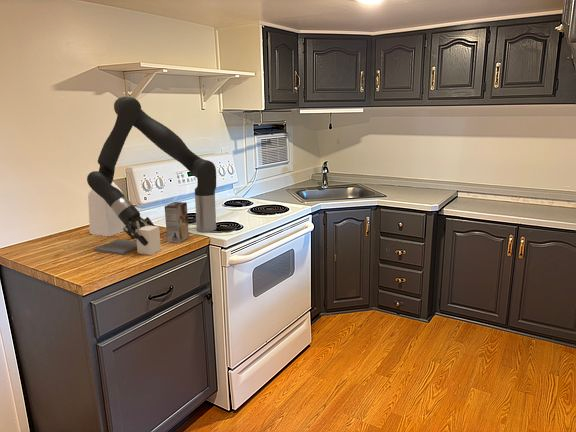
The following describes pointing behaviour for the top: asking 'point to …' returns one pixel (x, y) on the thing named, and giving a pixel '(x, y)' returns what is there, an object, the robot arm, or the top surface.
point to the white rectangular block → (149, 240)
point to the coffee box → (176, 222)
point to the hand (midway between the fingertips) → (152, 241)
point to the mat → (118, 247)
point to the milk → (103, 216)
